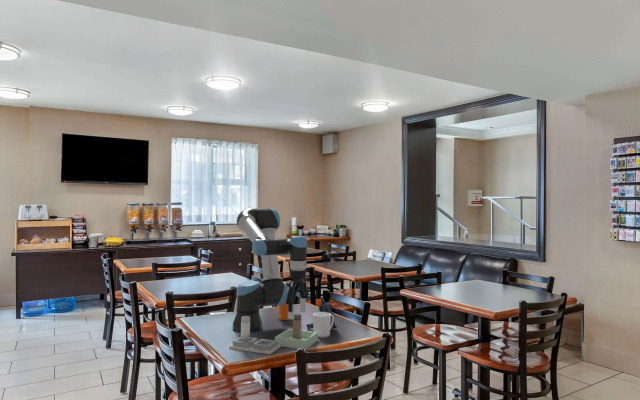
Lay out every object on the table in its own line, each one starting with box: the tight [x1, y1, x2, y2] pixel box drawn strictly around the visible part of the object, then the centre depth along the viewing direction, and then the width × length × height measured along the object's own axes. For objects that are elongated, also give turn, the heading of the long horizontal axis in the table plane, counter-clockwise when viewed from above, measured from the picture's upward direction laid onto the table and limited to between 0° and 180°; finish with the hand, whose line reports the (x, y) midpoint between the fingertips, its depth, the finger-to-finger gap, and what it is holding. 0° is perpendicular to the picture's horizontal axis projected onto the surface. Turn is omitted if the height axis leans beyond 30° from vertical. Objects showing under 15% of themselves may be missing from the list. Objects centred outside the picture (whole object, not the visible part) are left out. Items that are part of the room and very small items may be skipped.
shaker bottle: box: [277, 281, 290, 321], centre depth 240 cm, size 9×9×20 cm
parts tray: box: [274, 328, 319, 350], centre depth 195 cm, size 15×15×4 cm
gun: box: [306, 296, 338, 331], centre depth 218 cm, size 3×17×15 cm
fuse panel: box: [228, 336, 281, 355], centre depth 187 cm, size 20×10×3 cm, turn 69°
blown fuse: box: [292, 313, 302, 340], centre depth 196 cm, size 4×4×12 cm
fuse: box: [240, 316, 251, 342], centre depth 189 cm, size 4×4×12 cm
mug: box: [312, 311, 335, 338], centre depth 209 cm, size 11×9×10 cm
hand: (296, 315), depth 196 cm, fingers open, 13 cm apart
